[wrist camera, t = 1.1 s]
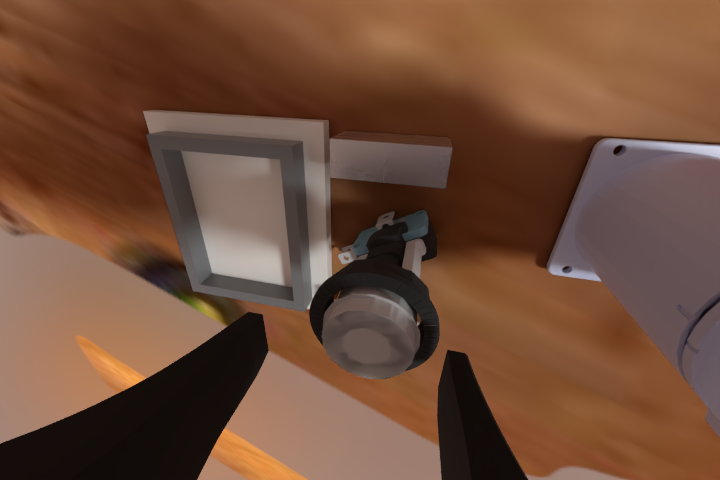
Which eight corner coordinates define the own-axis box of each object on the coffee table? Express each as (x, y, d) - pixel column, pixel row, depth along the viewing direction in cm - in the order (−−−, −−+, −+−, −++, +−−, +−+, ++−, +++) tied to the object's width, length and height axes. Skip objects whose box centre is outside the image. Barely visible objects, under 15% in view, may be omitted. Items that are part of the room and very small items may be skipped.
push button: (360, 277, 22) (312, 401, 13) (328, 215, 20) (249, 313, 12) (448, 253, 20) (459, 387, 11) (420, 180, 18) (407, 273, 9)
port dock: (328, 120, 17) (313, 125, 15) (332, 304, 24) (322, 326, 22) (155, 109, 19) (121, 113, 17) (203, 281, 26) (182, 298, 24)
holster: (449, 137, 16) (452, 147, 14) (419, 314, 22) (417, 344, 20) (345, 130, 17) (329, 138, 15) (344, 301, 24) (332, 328, 21)
